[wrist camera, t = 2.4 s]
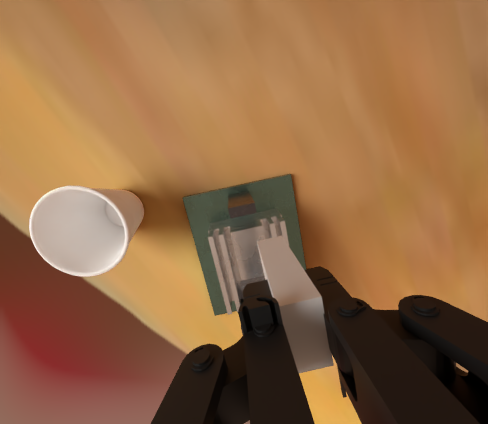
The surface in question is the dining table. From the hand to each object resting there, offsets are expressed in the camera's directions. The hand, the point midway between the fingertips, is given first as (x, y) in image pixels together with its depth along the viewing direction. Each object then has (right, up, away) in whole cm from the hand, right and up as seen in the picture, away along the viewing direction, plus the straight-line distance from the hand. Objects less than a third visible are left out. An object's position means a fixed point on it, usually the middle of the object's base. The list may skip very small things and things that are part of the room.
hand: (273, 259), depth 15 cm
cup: (-19, +3, +22) cm, 29 cm away
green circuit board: (-1, -3, +24) cm, 24 cm away
